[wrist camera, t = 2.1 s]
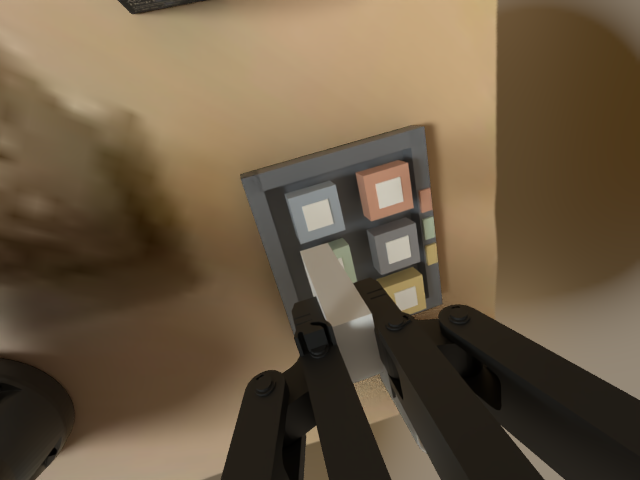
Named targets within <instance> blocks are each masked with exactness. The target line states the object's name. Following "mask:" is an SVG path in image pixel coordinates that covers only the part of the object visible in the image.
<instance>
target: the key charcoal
mask: <svg viewBox="0 0 640 480" xmlns="http://www.w3.org/2000/svg"><path fill="white" fill-rule="evenodd" d="M367 235H368V240H369V245H370V250H371V255H372V260H373V266H374V268H375V269H376V270H377V271H378V272H379V273H380V274H381V275H384V274H386V273H389V272H392V271H395V270H398V269H401V268H404V267H407V266H409V265H412V264H415V263H418V262H421V261H420V253H419V245H418V237H417V229H416V223H415V222H413V221H412V220H410V219H408V218H407V217H405V218H402V219H399V220H395V221H392V222H389V223H386V224H383V225H380V226H377V227H374V228H371V229H368V230H367Z"/></svg>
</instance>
